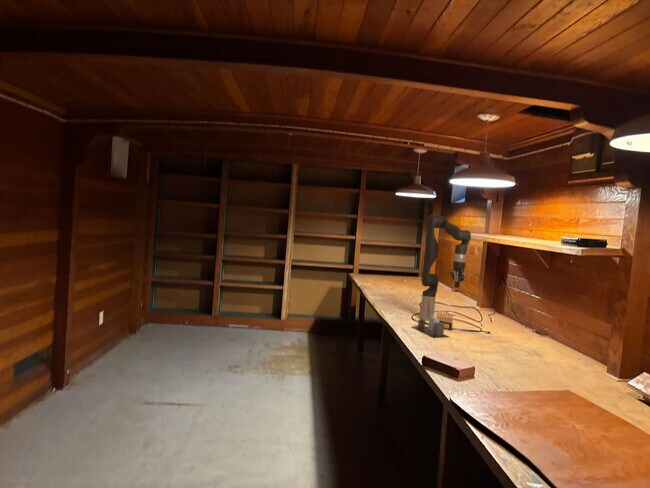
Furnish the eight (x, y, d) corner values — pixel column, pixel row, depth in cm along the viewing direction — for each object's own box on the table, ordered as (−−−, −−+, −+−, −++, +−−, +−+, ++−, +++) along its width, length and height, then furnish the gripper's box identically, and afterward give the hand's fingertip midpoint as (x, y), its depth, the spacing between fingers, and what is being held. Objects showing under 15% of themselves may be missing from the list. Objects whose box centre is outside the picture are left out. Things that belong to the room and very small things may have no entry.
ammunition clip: (452, 330, 265) (454, 312, 264) (451, 330, 263) (453, 312, 262) (436, 326, 270) (438, 309, 270) (435, 327, 269) (437, 309, 268)
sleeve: (428, 328, 253) (429, 317, 253) (433, 328, 255) (434, 316, 255) (433, 331, 249) (434, 319, 248) (438, 330, 250) (439, 318, 250)
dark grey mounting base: (411, 327, 263) (412, 315, 263) (426, 326, 268) (427, 315, 268) (433, 337, 242) (434, 324, 242) (449, 337, 247) (450, 324, 246)
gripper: (448, 259, 264) (445, 285, 265) (462, 262, 252) (459, 289, 253) (457, 259, 267) (454, 285, 268) (471, 262, 255) (468, 289, 256)
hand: (456, 287), depth 260 cm, fingers closed
